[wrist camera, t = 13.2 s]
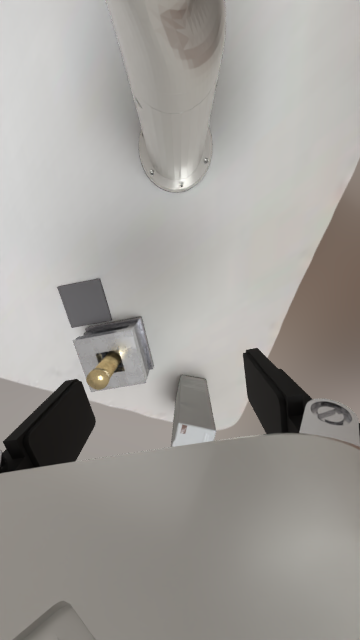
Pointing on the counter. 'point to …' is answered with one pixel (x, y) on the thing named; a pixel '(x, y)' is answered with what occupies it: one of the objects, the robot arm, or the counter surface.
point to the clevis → (117, 337)
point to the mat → (85, 303)
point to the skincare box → (192, 413)
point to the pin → (104, 370)
